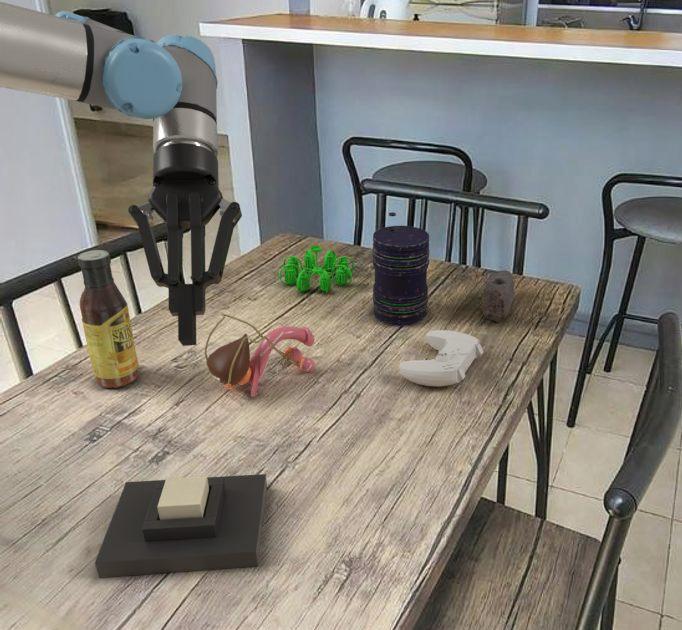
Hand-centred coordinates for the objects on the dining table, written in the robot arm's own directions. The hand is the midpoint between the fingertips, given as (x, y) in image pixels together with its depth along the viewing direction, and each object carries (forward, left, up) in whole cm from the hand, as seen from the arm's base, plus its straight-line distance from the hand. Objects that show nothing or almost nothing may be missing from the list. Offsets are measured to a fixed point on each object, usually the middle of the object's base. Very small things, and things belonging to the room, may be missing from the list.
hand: (187, 342), depth 77 cm
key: (0, -10, -15) cm, 18 cm away
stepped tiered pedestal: (0, -10, -18) cm, 21 cm away
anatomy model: (+6, +20, -18) cm, 27 cm away
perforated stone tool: (+46, +40, -18) cm, 64 cm away
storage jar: (+28, +40, -18) cm, 52 cm away
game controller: (+33, +21, -18) cm, 43 cm away
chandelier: (+13, +55, -18) cm, 59 cm away
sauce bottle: (-16, +22, -18) cm, 33 cm away
